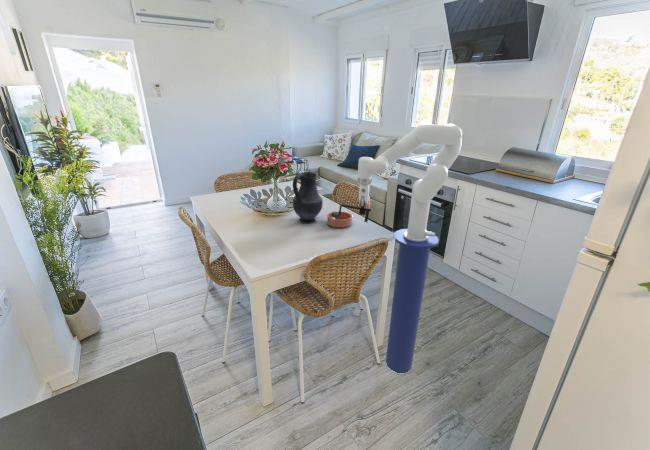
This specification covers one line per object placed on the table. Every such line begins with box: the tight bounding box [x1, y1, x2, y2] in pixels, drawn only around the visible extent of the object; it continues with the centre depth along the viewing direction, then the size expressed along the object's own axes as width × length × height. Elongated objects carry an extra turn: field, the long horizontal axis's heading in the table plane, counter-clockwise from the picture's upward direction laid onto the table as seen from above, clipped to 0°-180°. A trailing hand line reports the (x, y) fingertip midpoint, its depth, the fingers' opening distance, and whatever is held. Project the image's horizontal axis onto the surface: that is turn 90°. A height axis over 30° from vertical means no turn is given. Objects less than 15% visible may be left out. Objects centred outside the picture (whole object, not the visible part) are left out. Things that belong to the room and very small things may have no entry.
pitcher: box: [292, 171, 324, 224], centre depth 182 cm, size 17×21×30 cm
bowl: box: [326, 211, 353, 229], centre depth 184 cm, size 15×15×5 cm
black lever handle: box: [332, 203, 372, 223], centre depth 173 cm, size 21×5×8 cm, turn 79°
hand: (362, 213), depth 172 cm, fingers closed on black lever handle, 1 cm apart
